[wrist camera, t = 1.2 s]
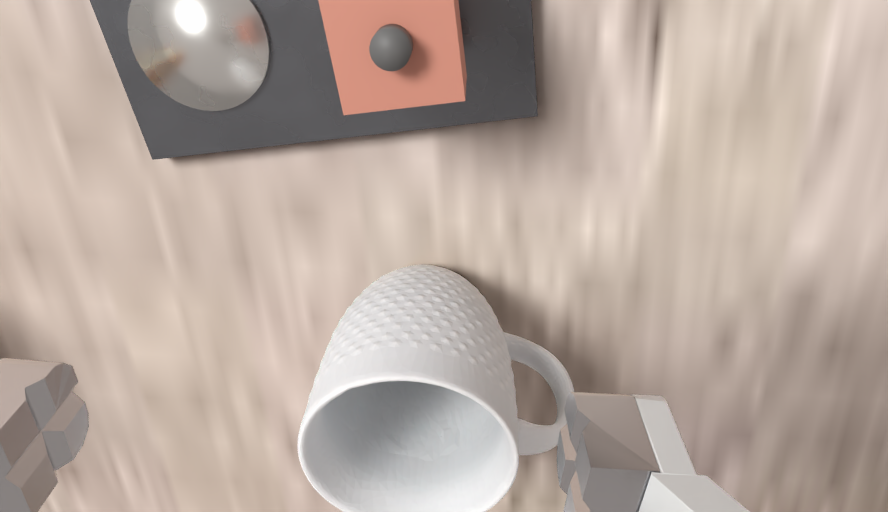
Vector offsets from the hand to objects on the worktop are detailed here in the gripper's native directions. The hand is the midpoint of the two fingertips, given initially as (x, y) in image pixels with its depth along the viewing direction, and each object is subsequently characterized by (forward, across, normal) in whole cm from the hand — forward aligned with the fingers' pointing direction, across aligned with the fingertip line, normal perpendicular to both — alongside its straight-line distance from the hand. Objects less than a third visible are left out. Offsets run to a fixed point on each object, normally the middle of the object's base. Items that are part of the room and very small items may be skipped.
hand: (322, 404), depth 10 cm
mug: (+27, -2, +17) cm, 31 cm away
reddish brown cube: (+22, 0, -2) cm, 22 cm away
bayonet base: (+26, +5, -1) cm, 27 cm away
